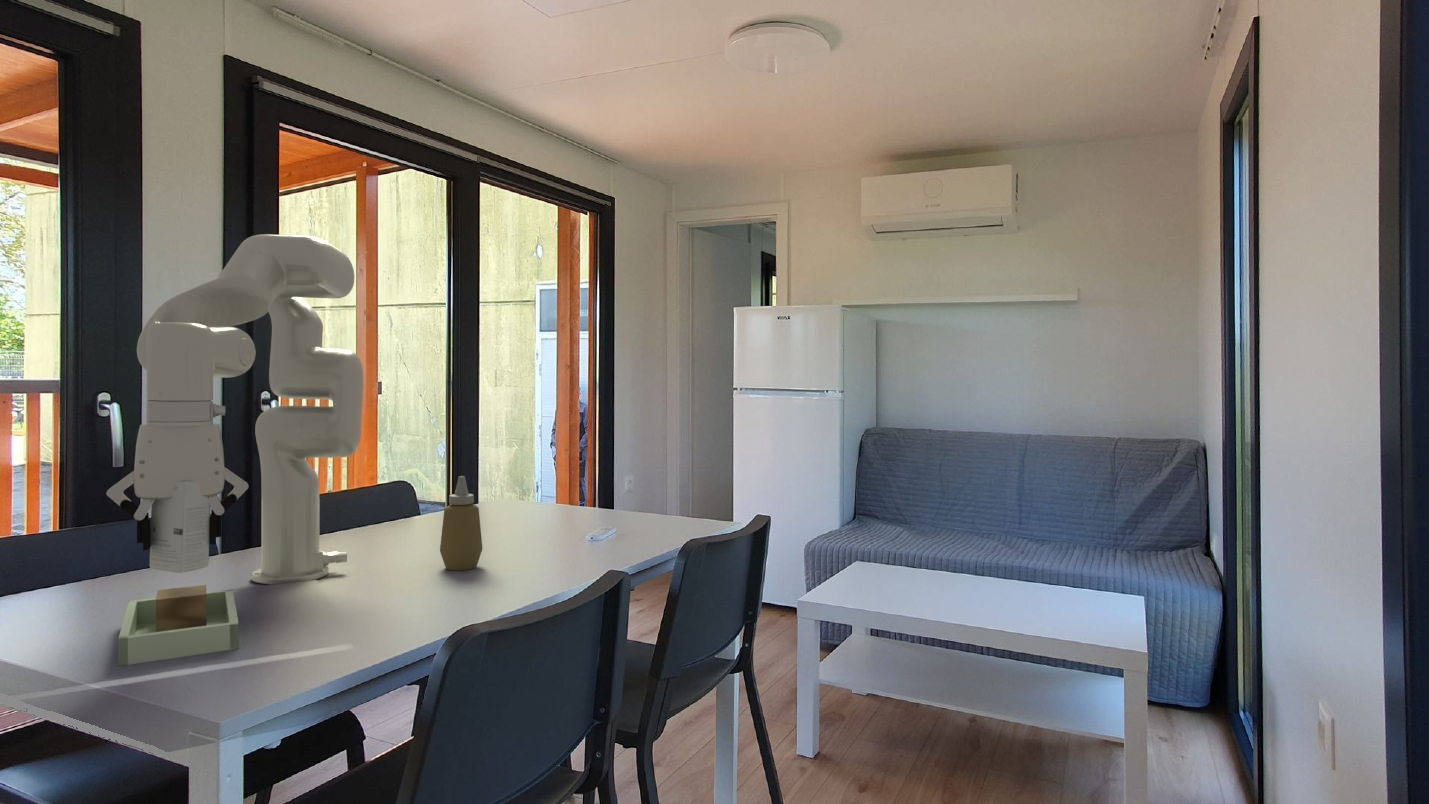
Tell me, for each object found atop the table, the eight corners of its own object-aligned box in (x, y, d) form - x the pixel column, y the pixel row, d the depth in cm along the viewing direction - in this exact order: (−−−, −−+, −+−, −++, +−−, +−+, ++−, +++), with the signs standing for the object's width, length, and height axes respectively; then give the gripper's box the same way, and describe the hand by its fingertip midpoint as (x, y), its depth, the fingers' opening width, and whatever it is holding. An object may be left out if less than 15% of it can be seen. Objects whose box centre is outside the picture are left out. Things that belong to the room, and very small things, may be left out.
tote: (232, 615, 124) (232, 589, 124) (238, 652, 108) (238, 623, 107) (129, 628, 117) (129, 600, 117) (118, 670, 100) (118, 639, 100)
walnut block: (206, 617, 121) (206, 584, 121) (206, 628, 116) (206, 594, 116) (157, 623, 117) (157, 590, 117) (156, 635, 112) (155, 599, 112)
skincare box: (147, 569, 107) (147, 480, 107) (179, 562, 112) (178, 476, 111) (182, 573, 106) (182, 482, 105) (212, 566, 110) (212, 478, 110)
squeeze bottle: (465, 561, 163) (466, 473, 162) (491, 567, 158) (491, 476, 158) (430, 568, 156) (431, 476, 156) (456, 574, 152) (457, 480, 151)
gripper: (252, 412, 116) (252, 535, 116) (102, 413, 107) (102, 547, 107) (256, 414, 110) (255, 544, 110) (96, 416, 100) (97, 557, 101)
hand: (180, 544), depth 109 cm, fingers closed on skincare box, 6 cm apart
